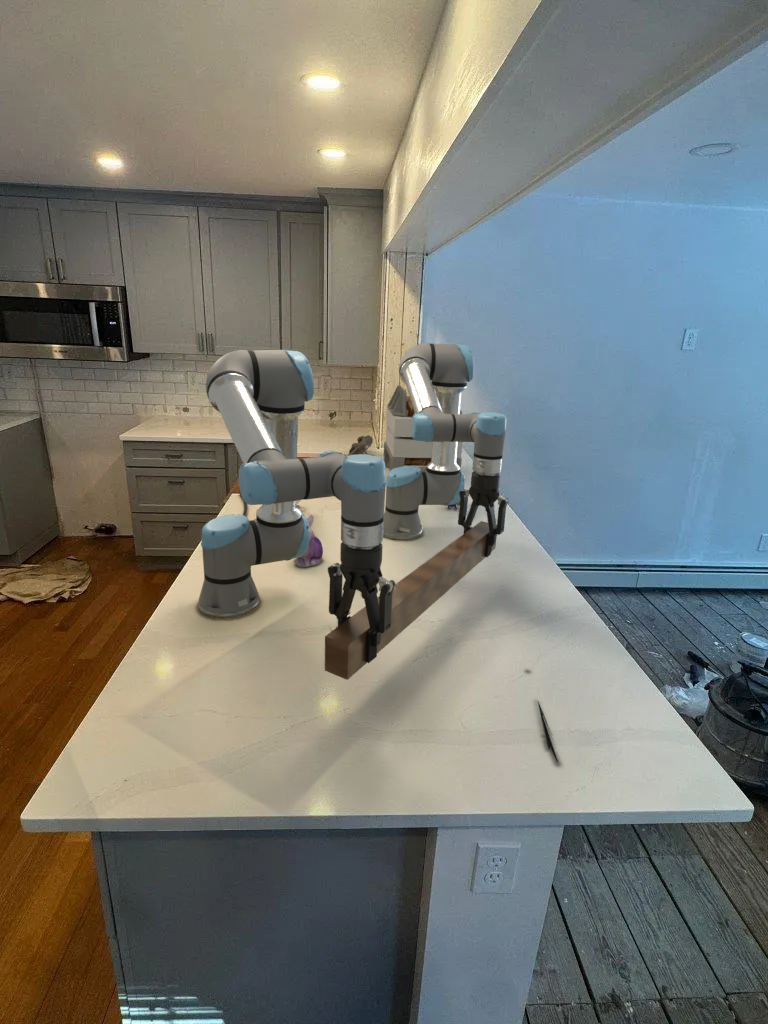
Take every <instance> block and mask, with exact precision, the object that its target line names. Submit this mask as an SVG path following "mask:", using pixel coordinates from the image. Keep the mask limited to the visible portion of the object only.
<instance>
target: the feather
mask: <svg viewBox="0 0 768 1024" xmlns="http://www.w3.org/2000/svg"><path fill="white" fill-rule="evenodd" d="M528 671H530V670H529V669H527V672H528ZM537 705H538V708H539V712H540V713H539V714H540V718H541V719H540V720H541V722H542V728H543V731H544V735H545V740H546V743H547V747H548V749H551V752H552V754H553V756H554V759H555V760H556V762H557V763H559V761H558V758H557V755H556V751H555V749H554V746H556V741H554V743H553V742H552V740H555V739H554V735H553V733H552V732H549V730H551V728H550V727H549V723H548V721H547V719H546V717H545V714H544V711H543V708H542V707H541V705H540V702H539V701H537ZM553 745H554V746H553Z"/></svg>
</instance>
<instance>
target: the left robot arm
mask: <svg viewBox="0 0 768 1024" xmlns="http://www.w3.org/2000/svg"><path fill="white" fill-rule="evenodd" d="M314 379H315V378H314V375H313V370H312V366H311V364H310V362H309V360H308V358H307V356H305V354H304V353H302V352H300V351H297V350H288V349H257V350H256V349H251V350H249V349H248V350H246V349H238V350H232V351H230V352H228V353H226V354H224V355H222V356H221V357H220V358H218V359H217V360H216V361H215V362H214V363H213V364H212V365H211V367H210V369H209V371H208V373H207V375H206V382H205V393H206V395H207V399H208V400H209V403H210V405H211V406H212V408H213V409H215V410H216V411H217V412H219V413H220V416H221V418H222V420H223V422H224V425H225V426H226V429H227V431H228V434H229V435H230V437H231V440H232V442H233V444H234V447H235V449H236V451H237V453H238V456H239V458H240V460H241V463H242V464H241V465H240V467H239V470H238V487H239V491H240V492H239V496H240V498H241V499H242V501H243V506H244V510H243V513H242V514H233V513H232V514H226V515H221V516H218V517H215V518H213V519H211V520H209V521H208V522H206V523H205V524H204V525H203V527H202V528H201V540H200V541H201V542H200V547H201V551H202V565H203V577H204V578H203V582H202V586H201V590H200V593H199V596H198V609H199V611H200V612H201V613H202V614H204V615H205V616H208V617H210V618H214V619H234V618H239V617H243V616H245V615H248V614H250V613H251V612H253V611H255V610H256V609H257V608H258V606H259V604H260V595H259V591H258V588H257V586H256V584H255V581H254V579H253V577H252V566H259V565H265V564H270V563H271V564H272V563H278V562H284V561H286V562H288V561H290V560H293V559H296V558H299V557H301V556H302V555H303V554H305V552H306V550H307V548H308V545H309V538H310V531H309V524H308V520H307V519H308V517H306V516H305V515H304V514H303V512H302V509H300V507H297V506H296V501H297V500H301V501H306V500H313V499H314V500H315V499H321V498H322V499H323V498H330V497H331V498H332V497H335V498H336V499H337V500H338V501H340V513H341V514H340V541H341V543H340V554H339V555H340V556H339V557H340V558H339V560H340V562H341V563H339V562H336V563H334V564H332V565H330V566H328V567H327V573H328V577H329V593H328V594H329V595H328V613H329V614H330V615H332V616H333V615H334V616H335V617H336V619H337V627H338V626H340V625H341V624H342V623H344V622H345V621H346V620H348V619H349V618H350V617H351V616H350V614H351V613H352V612H351V608H352V605H353V602H354V599H355V595H356V592H357V591H358V592H360V594H361V595H360V596H361V598H362V599H363V602H364V605H365V606H366V611H367V616H368V621H369V626H370V630H368V631H367V634H366V662H367V663H366V664H370V663H371V662H372V661H374V660H375V659H376V658H377V656H378V653H377V646H378V645H380V643H381V633H384V632H385V631H387V630H388V629H389V628H390V627H391V617H392V591H393V589H394V587H395V584H396V582H395V581H394V579H391V580H388V579H387V578H385V577H384V576H383V572H382V570H381V566H382V563H383V544H382V543H383V542H384V536H383V524H384V520H383V517H384V513H385V504H386V481H387V475H386V466H385V462H384V459H383V458H382V457H380V456H377V455H372V454H368V453H367V454H368V455H367V454H366V453H363V454H355V455H350V456H348V455H347V454H346V453H342V452H339V451H335V450H327V451H323V452H321V453H320V454H318V455H317V456H315V457H304V458H302V457H301V458H298V438H299V437H298V436H299V435H298V432H299V429H298V427H299V416H300V415H301V414H302V413H303V412H305V402H309V401H311V400H312V399H313V397H314V394H315V380H314ZM248 505H249V506H258V505H261V506H260V507H258V509H256V512H255V513H256V514H255V515H256V516H255V518H256V519H250V520H249V518H248V516H247V513H248ZM343 578H344V579H345V580H343ZM343 581H344V583H343ZM378 585H379V588H378ZM378 593H379V595H378ZM378 597H379V603H378ZM365 606H364V607H365Z"/></svg>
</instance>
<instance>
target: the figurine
mask: <svg viewBox="0 0 768 1024" xmlns="http://www.w3.org/2000/svg"><path fill="white" fill-rule="evenodd" d="M314 518H315V517H314V514H312V513H311V514H310V515H309V516H308V517H307V520H308V524H309V531H310V538H309V545H308V548H307V550H306V552H305V554H303V555H302V556H301V557H299V558H295V561H296V566H298V567H303V568H308V567H310V566H312V567H313V566H316V565H318V564H321V562H322V561H323V554H324V548H323V544H322V542H321V540H320V538H318V536H315V532H314V530H313V528H312V525H313V523H314Z"/></svg>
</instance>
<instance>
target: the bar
mask: <svg viewBox="0 0 768 1024" xmlns="http://www.w3.org/2000/svg"><path fill="white" fill-rule="evenodd" d="M472 527H473V528H471V529H470V530H468V531H467V532H466V533H464V532H463V534H461V535H460V536H459V537H457V538H456V539H454V540H453V541H452V542H451V543H449V544H448V545H447V546H445V547H444V548H443V549H441V550H440V551H438V552H437V553H436V554H434V555H433V556H432V557H430V558H428V560H427V561H425V562H423V563H422V564H421V565H420V566H418V567H417V568H415V569H414V570H413V571H412V572H410V573H409V574H407V575H405V577H403V578H401V579H400V580H399V581H398V582H397V583H395V587H394V589H393V591H392V617H391V627H390V628H389V629H388V630H387V631H385V632H384V633H381V643H380V645H378V646H377V654H379V653H380V652H381V651H382V650H383V649H384V648H385V647H387V646H388V645H389V644H390V643H391V642H393V640H394V639H395V638H397V637H398V636H399V635H400V634H401V633H402V632H404V631H405V630H406V629H407V628H408V627H409V626H410V625H411V624H412V623H413V622H414V621H416V620H417V619H418V618H419V617H421V615H422V614H424V613H425V612H426V611H427V610H429V609H430V607H431V606H432V605H434V604H435V603H436V602H438V600H439V599H440V598H442V597H443V596H444V595H445V594H446V593H447V592H448V591H450V590H451V589H452V588H453V587H454V586H455V585H456V584H457V583H459V581H461V580H462V579H463V578H464V577H465V576H466V575H467V574H469V573H470V572H471V571H472V570H473V569H474V568H475V567H476V566H478V564H480V563H481V562H482V561H483V560H484V559H485V558H486V557H485V548H486V538H487V534H489V533H490V531H489V525H488V521H483V520H480V521H479V522H478V523H477V524H475V525H473V526H472ZM497 538H498V535H496V539H497ZM496 545H497V541H496V542H495V545H493V546H492V549H491V553H492V552H493V551H495V550H496V548H497V547H496ZM377 598H378V603H379V596H377ZM368 630H370V626H369V621H368V616H367V611H366V606H364V607H362V608H361V609H360V610H358V611H357V612H356V613H355V614H353V615H352V616H350V618H349V619H348V620H346V621H345V622H344V623H342V624H341V625H340V626H338V625H337V627H335V628H334V629H333V630H331V631H330V632H329V633H327V634H326V635H324V671H325V672H327V673H329V674H332V675H334V676H337V677H339V678H341V679H343V680H346V681H348V680H349V679H351V678H352V677H353V676H354V675H355V674H356V673H358V671H359V670H361V669H362V668H363V667H364V666H365V665H366V664H368V663H367V662H366V634H367V631H368Z"/></svg>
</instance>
